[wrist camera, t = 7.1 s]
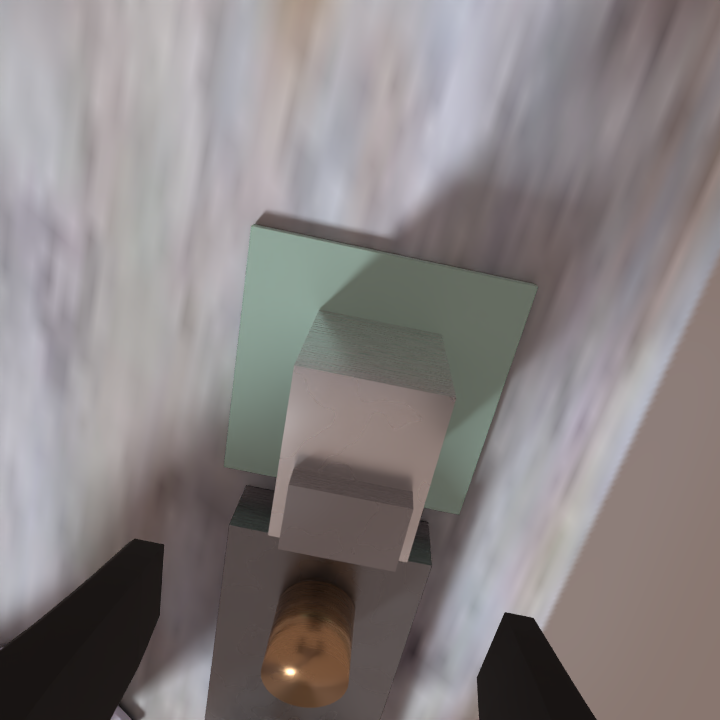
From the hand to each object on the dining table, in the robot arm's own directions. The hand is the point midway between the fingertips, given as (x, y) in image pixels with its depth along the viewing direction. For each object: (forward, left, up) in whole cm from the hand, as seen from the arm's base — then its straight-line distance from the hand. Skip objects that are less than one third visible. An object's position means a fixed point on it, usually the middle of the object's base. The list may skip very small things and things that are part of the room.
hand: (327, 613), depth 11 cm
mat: (+1, 0, -10) cm, 10 cm away
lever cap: (0, 0, -10) cm, 10 cm away
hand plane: (-9, -12, -10) cm, 19 cm away
